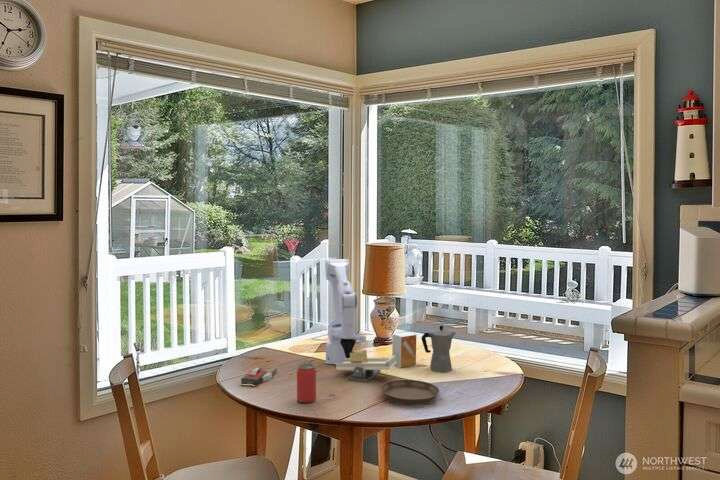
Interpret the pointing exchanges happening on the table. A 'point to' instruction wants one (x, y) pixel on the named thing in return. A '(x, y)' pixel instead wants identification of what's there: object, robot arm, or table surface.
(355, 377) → the pivot stand
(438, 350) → the coffeepot
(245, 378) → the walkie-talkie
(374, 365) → the beam
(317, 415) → the table surface
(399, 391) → the plant saucer
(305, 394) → the beer can
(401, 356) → the small box
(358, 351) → the brass block
